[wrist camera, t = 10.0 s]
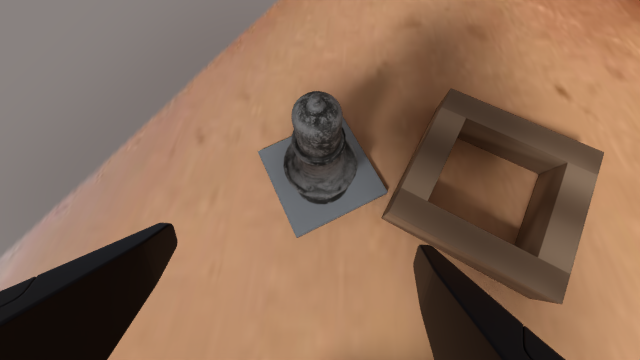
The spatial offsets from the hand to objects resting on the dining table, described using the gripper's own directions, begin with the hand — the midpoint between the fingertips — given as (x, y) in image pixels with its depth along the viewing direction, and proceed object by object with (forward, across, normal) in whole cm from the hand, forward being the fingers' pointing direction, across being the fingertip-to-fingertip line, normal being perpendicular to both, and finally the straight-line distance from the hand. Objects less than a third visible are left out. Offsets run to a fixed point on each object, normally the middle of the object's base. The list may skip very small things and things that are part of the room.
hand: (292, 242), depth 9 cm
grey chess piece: (+14, 0, +4) cm, 15 cm away
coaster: (+15, 0, +4) cm, 15 cm away
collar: (+14, -14, +5) cm, 21 cm away
